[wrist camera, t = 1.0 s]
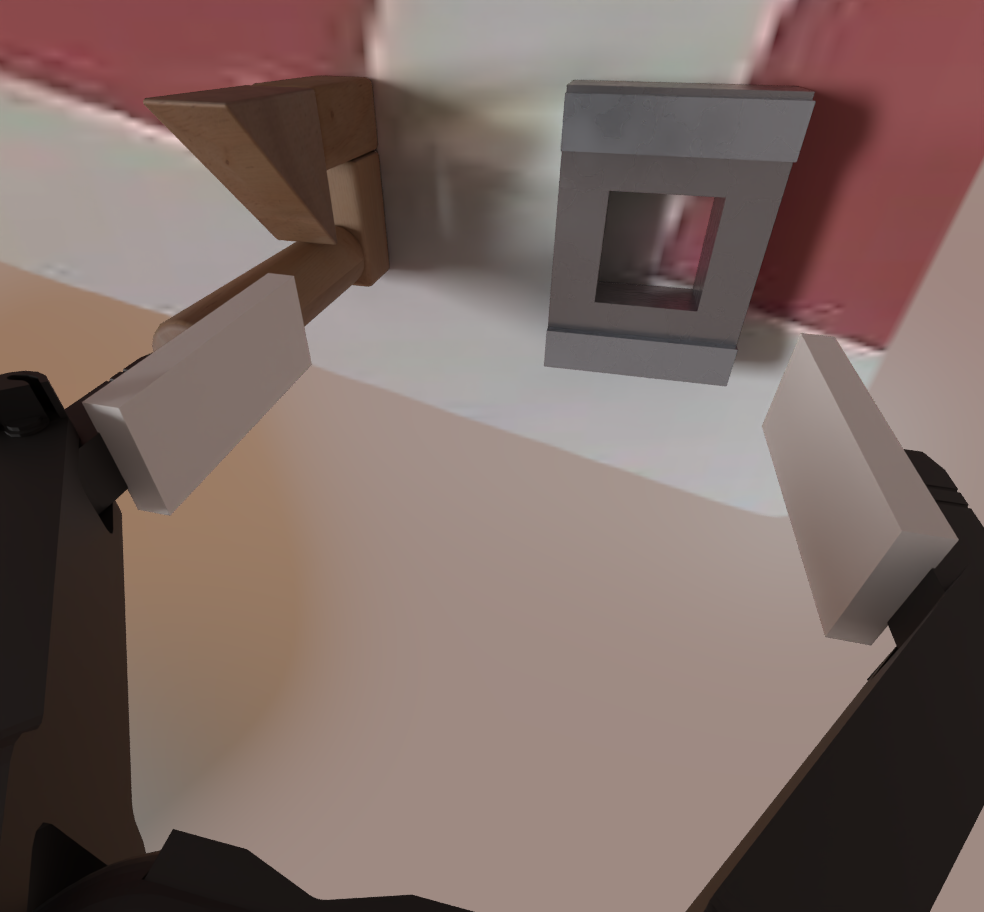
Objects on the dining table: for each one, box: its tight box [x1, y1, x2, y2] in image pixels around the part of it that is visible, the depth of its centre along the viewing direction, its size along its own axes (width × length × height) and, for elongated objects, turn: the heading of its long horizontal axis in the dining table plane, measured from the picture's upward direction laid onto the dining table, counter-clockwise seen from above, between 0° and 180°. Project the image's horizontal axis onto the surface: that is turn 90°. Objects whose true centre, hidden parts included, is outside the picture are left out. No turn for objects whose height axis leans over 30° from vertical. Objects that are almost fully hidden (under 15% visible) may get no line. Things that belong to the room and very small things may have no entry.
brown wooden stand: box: [143, 76, 389, 352], centre depth 27 cm, size 4×11×18 cm, turn 179°
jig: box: [544, 80, 816, 386], centre depth 31 cm, size 15×11×4 cm
